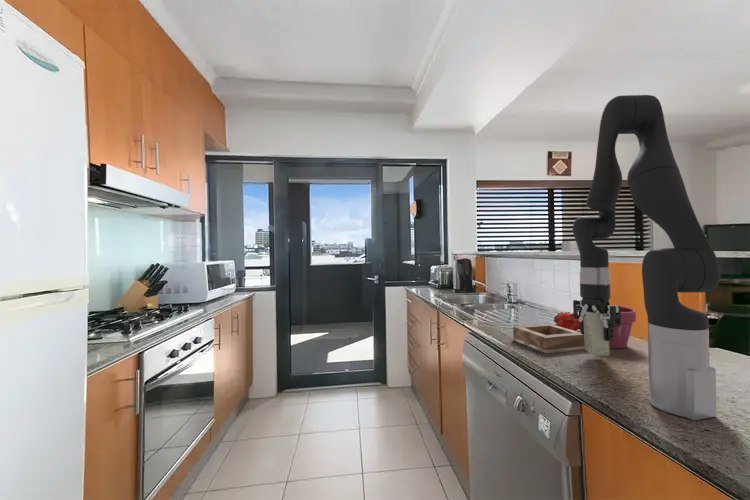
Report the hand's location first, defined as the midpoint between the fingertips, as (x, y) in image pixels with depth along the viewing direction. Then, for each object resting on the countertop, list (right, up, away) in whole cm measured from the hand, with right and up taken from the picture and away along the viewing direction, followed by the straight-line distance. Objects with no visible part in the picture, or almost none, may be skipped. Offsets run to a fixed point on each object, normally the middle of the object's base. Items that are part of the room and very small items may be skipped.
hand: (596, 337), depth 96 cm
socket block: (-6, -7, +16) cm, 19 cm away
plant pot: (+15, -7, +15) cm, 23 cm away
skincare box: (0, -5, 0) cm, 5 cm away
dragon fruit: (+13, -7, +34) cm, 37 cm away
